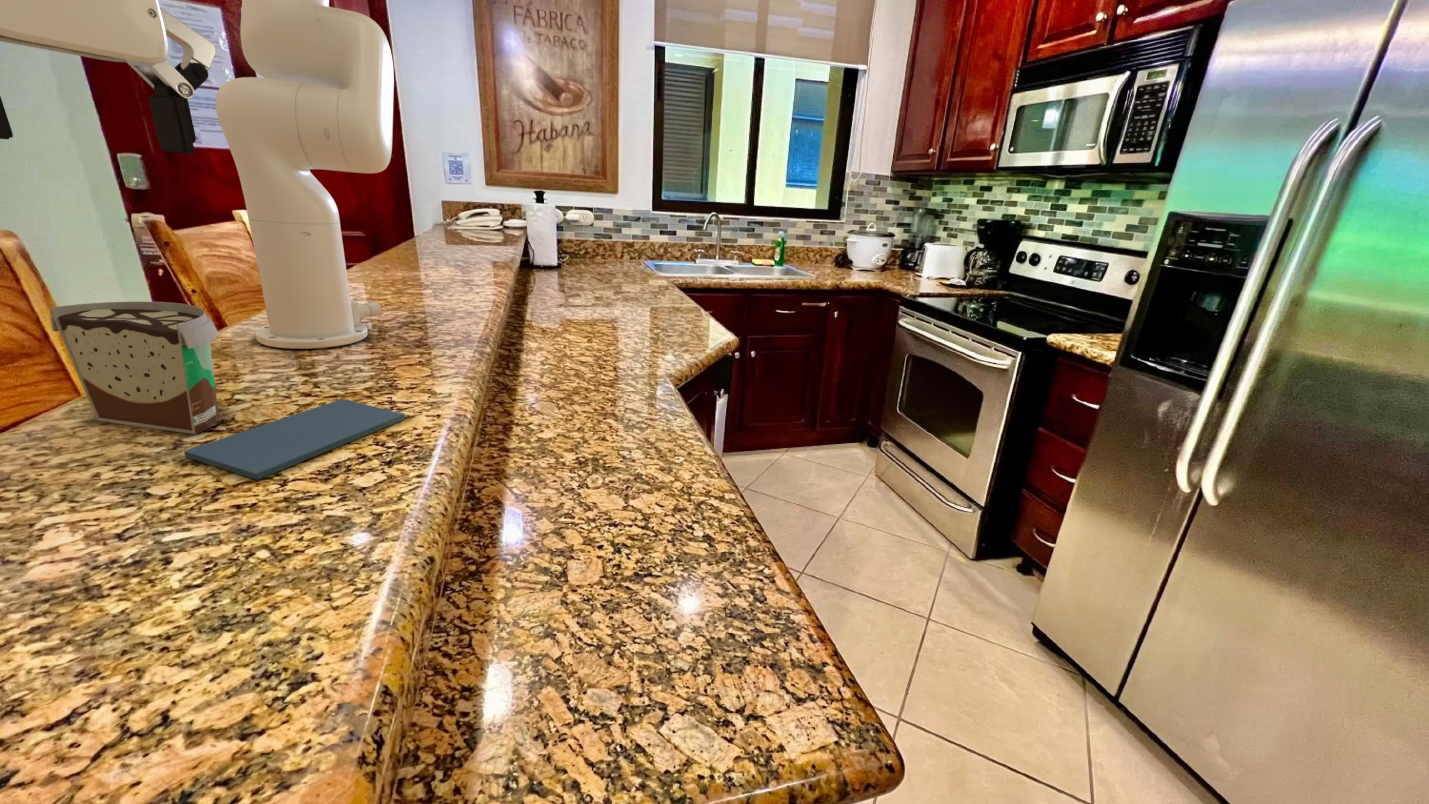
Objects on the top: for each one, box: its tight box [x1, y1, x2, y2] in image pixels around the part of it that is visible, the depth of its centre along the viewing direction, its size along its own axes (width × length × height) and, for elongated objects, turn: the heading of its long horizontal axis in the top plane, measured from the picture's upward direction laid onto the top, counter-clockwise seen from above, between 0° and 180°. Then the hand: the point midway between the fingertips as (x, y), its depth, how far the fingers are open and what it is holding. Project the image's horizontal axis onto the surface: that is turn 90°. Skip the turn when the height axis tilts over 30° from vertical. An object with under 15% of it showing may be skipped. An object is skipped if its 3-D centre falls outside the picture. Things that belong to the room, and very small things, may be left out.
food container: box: [49, 301, 220, 435], centre depth 49 cm, size 12×6×10 cm, turn 84°
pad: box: [183, 398, 406, 481], centre depth 50 cm, size 14×8×1 cm, turn 162°
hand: (95, 145), depth 39 cm, fingers open, 9 cm apart
